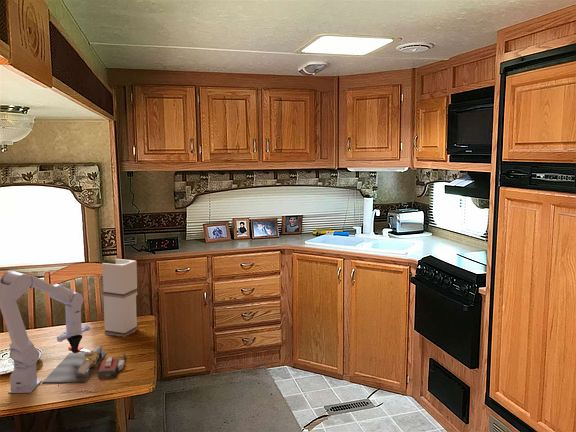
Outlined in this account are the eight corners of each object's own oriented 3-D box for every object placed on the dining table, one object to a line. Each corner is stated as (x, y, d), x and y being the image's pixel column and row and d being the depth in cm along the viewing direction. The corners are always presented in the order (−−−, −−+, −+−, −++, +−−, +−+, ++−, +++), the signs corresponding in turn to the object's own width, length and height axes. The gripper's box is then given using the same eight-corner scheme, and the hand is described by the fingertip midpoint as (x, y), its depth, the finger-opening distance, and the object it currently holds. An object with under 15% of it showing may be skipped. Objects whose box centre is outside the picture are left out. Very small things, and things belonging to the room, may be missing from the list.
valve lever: (95, 353, 195) (95, 350, 194) (90, 356, 192) (89, 352, 192) (73, 348, 200) (73, 344, 200) (68, 350, 197) (68, 347, 197)
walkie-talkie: (120, 378, 187) (127, 357, 206) (120, 367, 186) (126, 347, 206) (96, 380, 185) (105, 358, 204) (96, 369, 184) (105, 348, 204)
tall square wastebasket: (138, 329, 237) (136, 260, 232) (124, 337, 227) (122, 265, 222) (118, 326, 240) (116, 258, 235) (104, 334, 230) (102, 263, 225)
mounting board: (84, 382, 182) (84, 381, 182) (42, 383, 181) (42, 381, 181) (105, 354, 208) (105, 352, 208) (69, 354, 207) (69, 353, 207)
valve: (86, 378, 184) (86, 366, 183) (74, 379, 184) (74, 366, 183) (104, 354, 206) (104, 343, 205) (94, 354, 205) (94, 343, 205)
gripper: (65, 328, 185) (66, 361, 187) (94, 316, 198) (96, 348, 200) (52, 324, 188) (54, 357, 190) (82, 314, 201) (84, 344, 203)
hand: (74, 352), depth 195 cm, fingers closed, pressing on valve lever
